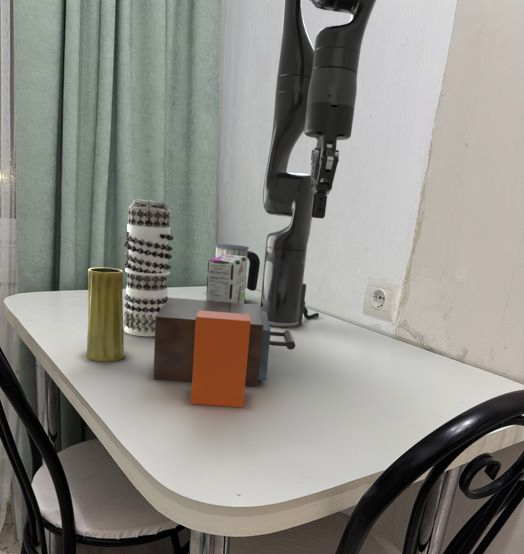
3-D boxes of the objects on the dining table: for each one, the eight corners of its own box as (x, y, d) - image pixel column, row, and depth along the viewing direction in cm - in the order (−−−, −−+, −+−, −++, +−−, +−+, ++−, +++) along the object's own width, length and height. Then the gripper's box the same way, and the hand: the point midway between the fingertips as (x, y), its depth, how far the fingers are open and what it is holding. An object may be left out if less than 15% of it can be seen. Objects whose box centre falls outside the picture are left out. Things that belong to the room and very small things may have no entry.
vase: (131, 355, 85) (133, 270, 81) (110, 364, 80) (110, 274, 76) (101, 348, 87) (101, 265, 83) (77, 357, 81) (76, 269, 77)
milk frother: (231, 305, 132) (236, 248, 128) (185, 295, 140) (188, 241, 135) (261, 300, 143) (266, 247, 139) (217, 290, 151) (220, 240, 147)
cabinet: (255, 357, 90) (260, 304, 87) (257, 386, 76) (263, 325, 74) (167, 351, 89) (169, 297, 86) (153, 379, 75) (155, 316, 73)
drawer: (286, 356, 90) (291, 313, 88) (294, 382, 77) (299, 332, 75) (180, 348, 89) (182, 304, 86) (169, 373, 76) (171, 322, 73)
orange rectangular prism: (242, 396, 72) (250, 314, 68) (243, 407, 68) (250, 321, 65) (193, 393, 71) (198, 310, 68) (190, 404, 68) (195, 316, 64)
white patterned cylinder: (158, 323, 107) (163, 201, 100) (177, 335, 100) (183, 203, 93) (116, 326, 102) (117, 197, 95) (132, 338, 95) (134, 199, 88)
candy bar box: (218, 335, 103) (224, 253, 98) (242, 338, 102) (249, 256, 97) (201, 349, 92) (207, 258, 88) (228, 353, 91) (234, 261, 87)
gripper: (302, 109, 86) (291, 214, 91) (312, 93, 73) (299, 217, 78) (345, 114, 86) (332, 218, 91) (363, 99, 74) (347, 221, 78)
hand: (317, 217), depth 84 cm, fingers closed
